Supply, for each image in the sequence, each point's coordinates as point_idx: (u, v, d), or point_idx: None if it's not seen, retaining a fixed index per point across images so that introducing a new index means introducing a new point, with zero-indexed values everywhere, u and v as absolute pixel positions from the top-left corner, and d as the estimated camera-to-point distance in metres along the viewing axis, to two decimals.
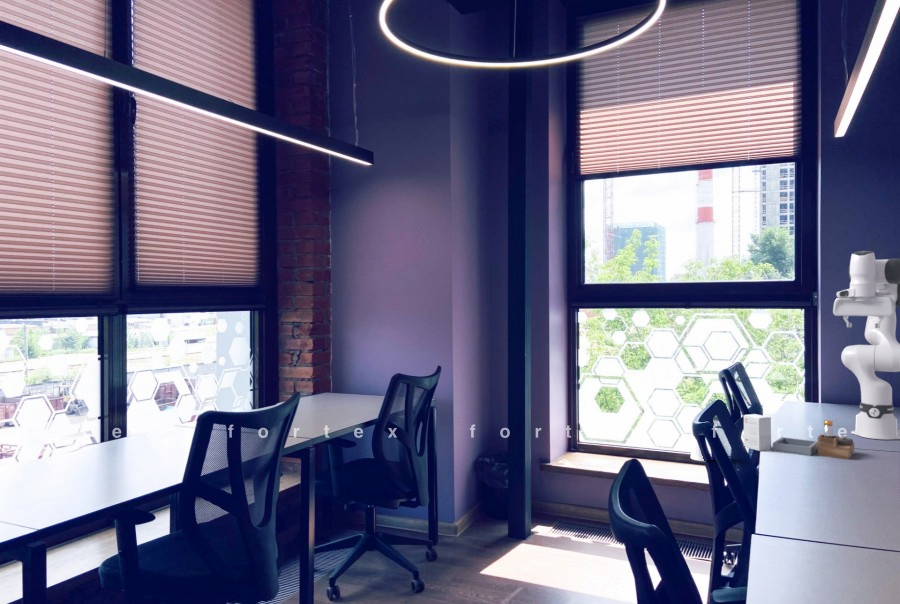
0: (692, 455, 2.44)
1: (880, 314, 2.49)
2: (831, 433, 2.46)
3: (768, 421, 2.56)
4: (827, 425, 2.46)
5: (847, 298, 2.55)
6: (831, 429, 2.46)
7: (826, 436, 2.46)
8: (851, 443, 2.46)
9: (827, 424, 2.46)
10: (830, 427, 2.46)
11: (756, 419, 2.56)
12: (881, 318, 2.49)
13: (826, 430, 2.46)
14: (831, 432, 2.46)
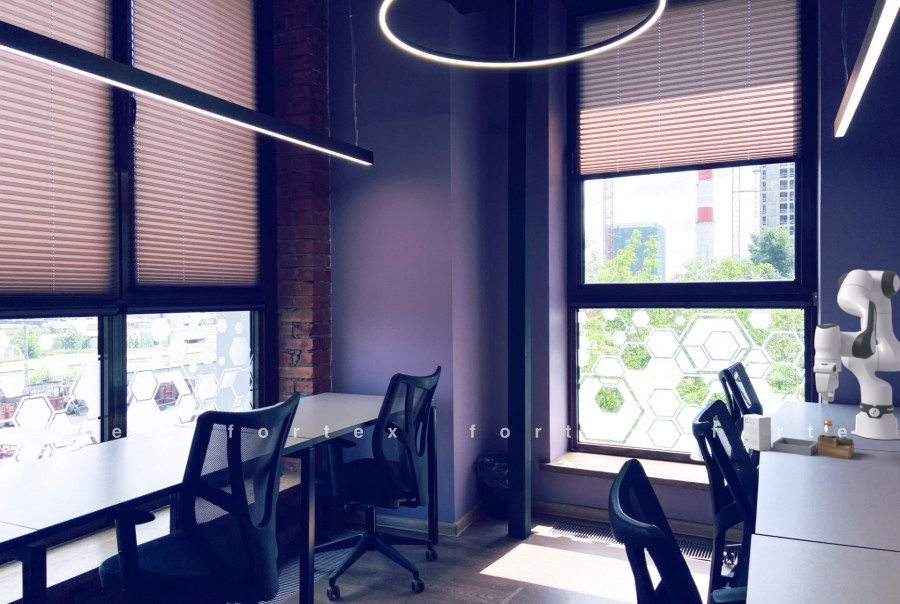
0: (692, 455, 2.44)
1: (836, 387, 2.50)
2: (831, 433, 2.46)
3: (768, 421, 2.56)
4: (827, 425, 2.46)
5: (833, 373, 2.41)
6: (831, 429, 2.46)
7: (826, 436, 2.46)
8: (851, 443, 2.46)
9: (827, 424, 2.46)
10: (830, 427, 2.46)
11: (756, 419, 2.56)
12: (834, 391, 2.51)
13: (826, 430, 2.46)
14: (831, 432, 2.46)
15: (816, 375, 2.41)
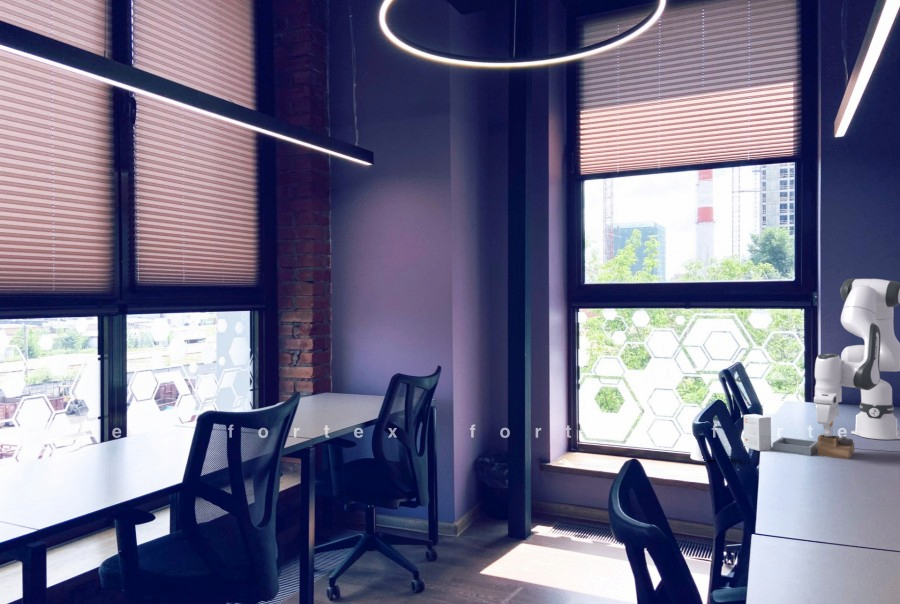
0: (692, 455, 2.44)
1: (836, 416, 2.50)
2: (831, 433, 2.46)
3: (768, 421, 2.56)
4: None
5: (833, 404, 2.42)
6: (831, 429, 2.46)
7: (826, 436, 2.46)
8: (851, 443, 2.46)
9: None
10: (830, 427, 2.46)
11: (756, 419, 2.56)
12: (833, 421, 2.49)
13: None
14: (831, 432, 2.46)
15: (816, 406, 2.42)
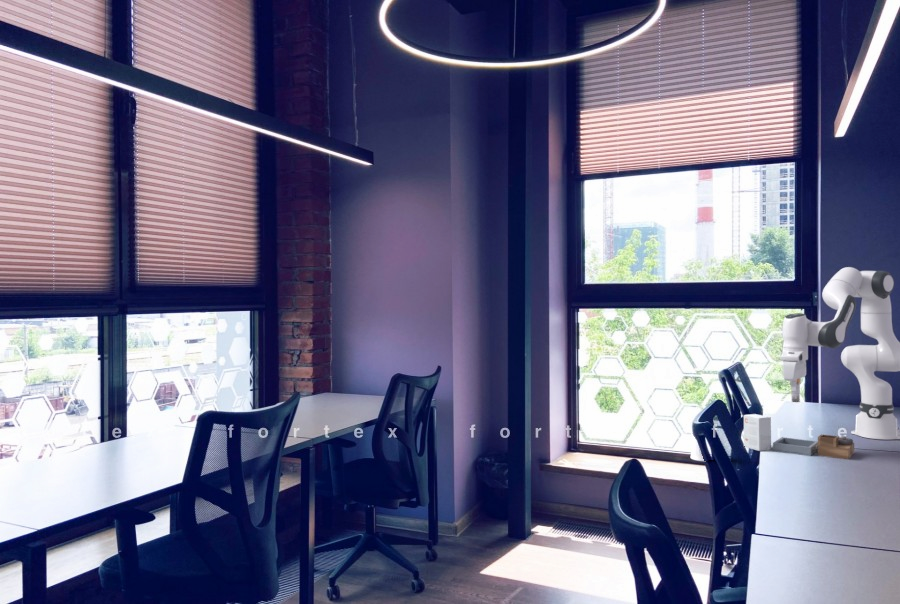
0: (692, 455, 2.44)
1: (804, 375, 2.59)
2: (798, 390, 2.54)
3: (768, 421, 2.56)
4: None
5: (800, 362, 2.50)
6: (798, 386, 2.54)
7: (793, 393, 2.55)
8: (851, 443, 2.46)
9: None
10: (797, 384, 2.54)
11: (756, 419, 2.56)
12: (800, 379, 2.57)
13: None
14: (798, 389, 2.54)
15: (783, 363, 2.50)
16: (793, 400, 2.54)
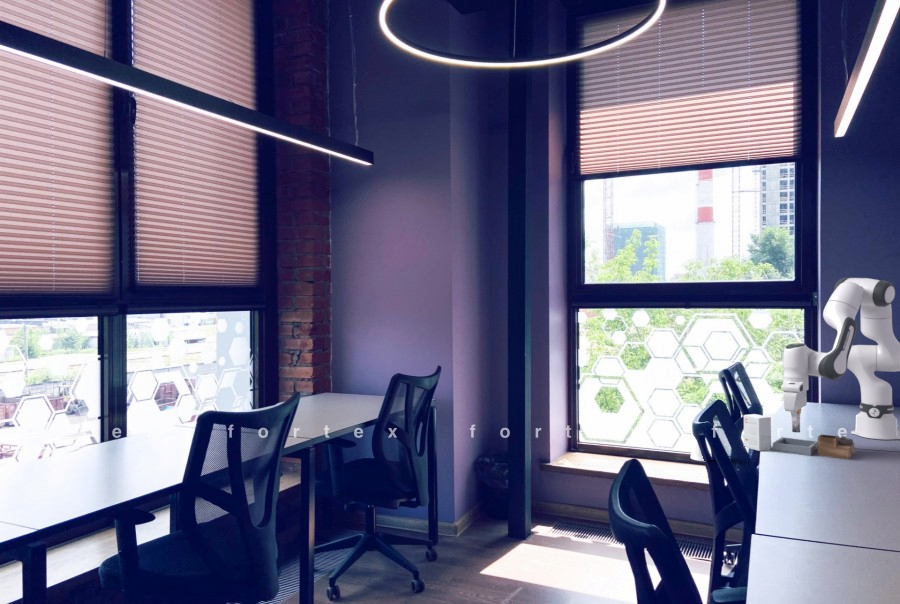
0: (692, 455, 2.44)
1: (804, 405, 2.58)
2: (798, 420, 2.54)
3: (768, 421, 2.56)
4: None
5: (800, 392, 2.50)
6: (799, 416, 2.54)
7: (794, 423, 2.54)
8: (851, 443, 2.46)
9: None
10: (797, 415, 2.54)
11: (756, 419, 2.56)
12: None
13: None
14: (798, 420, 2.54)
15: (784, 394, 2.50)
16: (794, 431, 2.54)
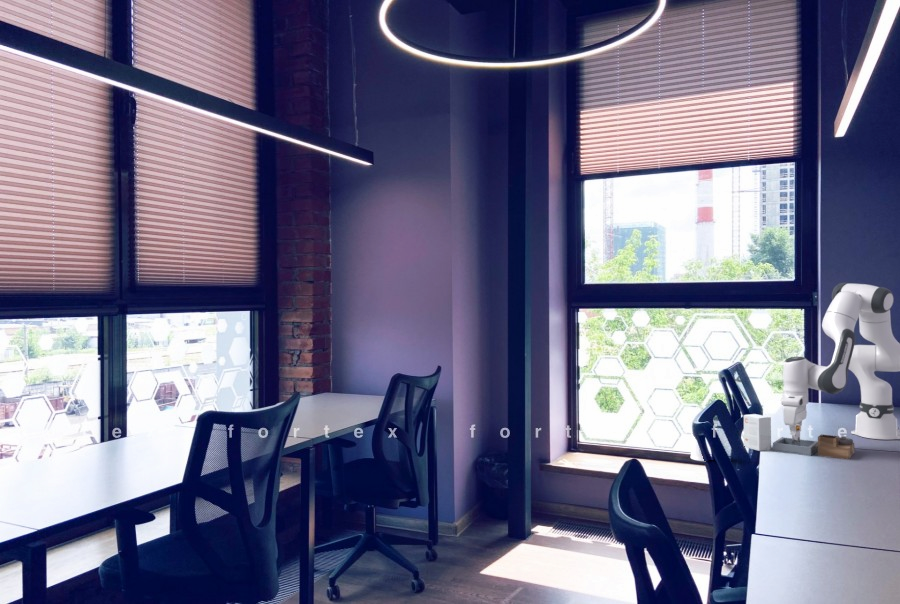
0: (692, 455, 2.44)
1: (804, 418, 2.59)
2: (798, 437, 2.54)
3: (768, 421, 2.56)
4: None
5: (800, 406, 2.50)
6: (799, 434, 2.54)
7: (794, 440, 2.55)
8: (851, 443, 2.46)
9: None
10: (798, 432, 2.54)
11: (756, 419, 2.56)
12: (801, 422, 2.59)
13: (794, 435, 2.55)
14: (798, 437, 2.54)
15: (783, 408, 2.50)
16: None
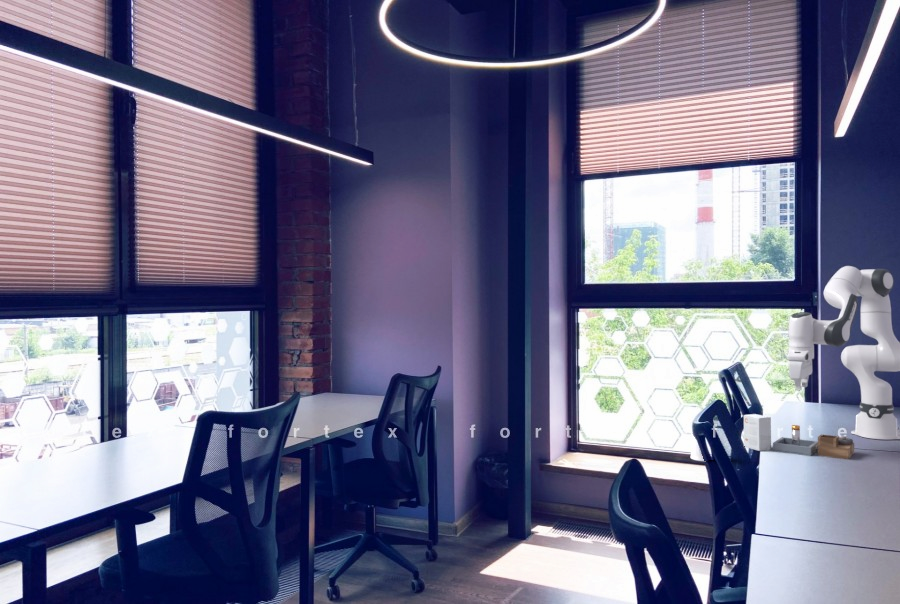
0: (692, 455, 2.44)
1: (810, 373, 2.60)
2: (798, 437, 2.54)
3: (768, 421, 2.56)
4: (794, 430, 2.54)
5: (806, 361, 2.51)
6: (799, 433, 2.54)
7: (794, 440, 2.55)
8: (851, 443, 2.46)
9: (794, 429, 2.54)
10: (797, 432, 2.54)
11: (756, 419, 2.56)
12: (808, 377, 2.60)
13: (794, 435, 2.55)
14: (798, 436, 2.54)
15: (789, 363, 2.51)
16: None
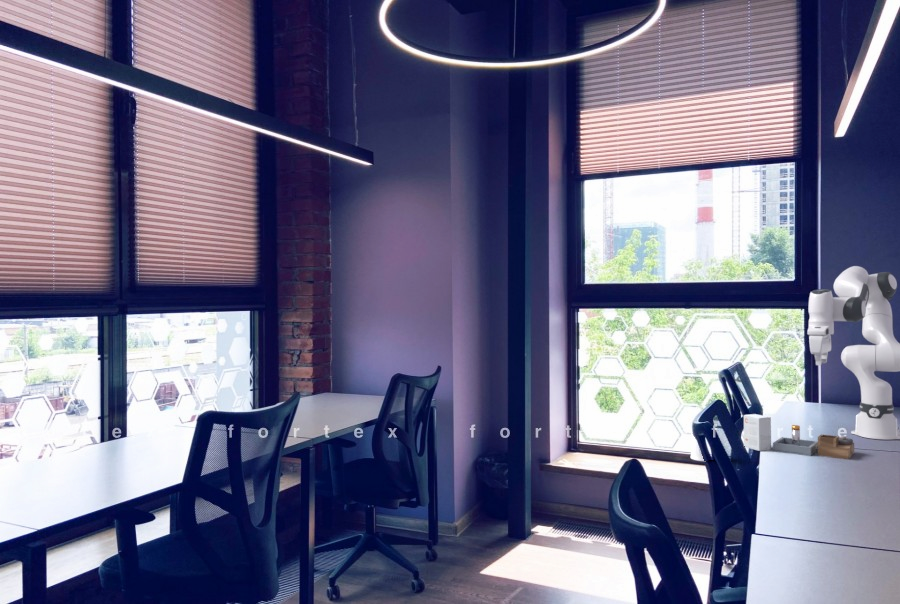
0: (692, 455, 2.44)
1: (829, 350, 2.64)
2: (798, 437, 2.54)
3: (768, 421, 2.56)
4: (794, 430, 2.54)
5: (826, 336, 2.55)
6: (799, 433, 2.54)
7: (794, 440, 2.55)
8: (851, 443, 2.46)
9: (794, 429, 2.54)
10: (797, 432, 2.54)
11: (756, 419, 2.56)
12: (827, 353, 2.65)
13: (793, 435, 2.55)
14: (798, 436, 2.54)
15: (810, 337, 2.55)
16: None
